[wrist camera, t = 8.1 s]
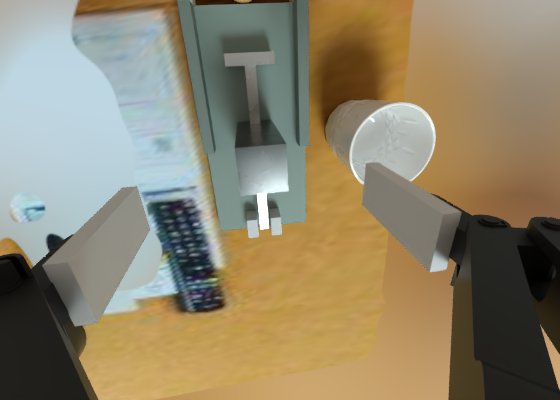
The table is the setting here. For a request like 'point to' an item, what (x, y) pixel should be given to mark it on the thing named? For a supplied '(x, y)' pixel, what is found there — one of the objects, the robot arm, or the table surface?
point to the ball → (243, 1)
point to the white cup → (381, 136)
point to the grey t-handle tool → (258, 140)
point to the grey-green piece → (234, 100)
